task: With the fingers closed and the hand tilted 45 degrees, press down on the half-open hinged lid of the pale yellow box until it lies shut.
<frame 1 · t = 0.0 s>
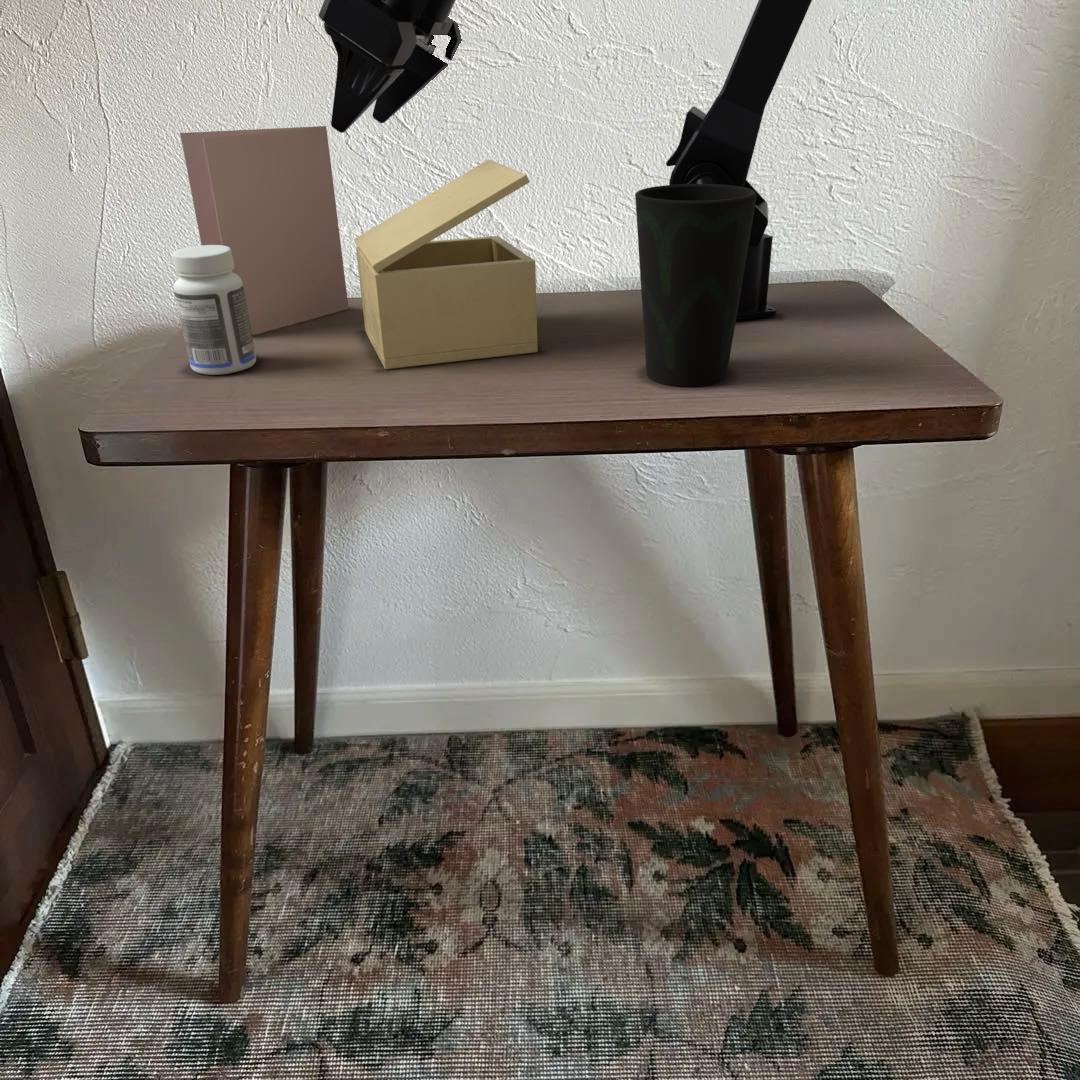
hand: (358, 124, 79), 15 cm above the table, tool tilted 35°, fingers open, 9 cm apart
pill bottle: (224, 368, 70), on the table
pale yellow box: (448, 341, 74), on the table
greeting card: (284, 324, 80), on the table
cup: (686, 376, 65), on the table
lid: (436, 212, 69), point 10 cm above the table, hinge at 25.0°
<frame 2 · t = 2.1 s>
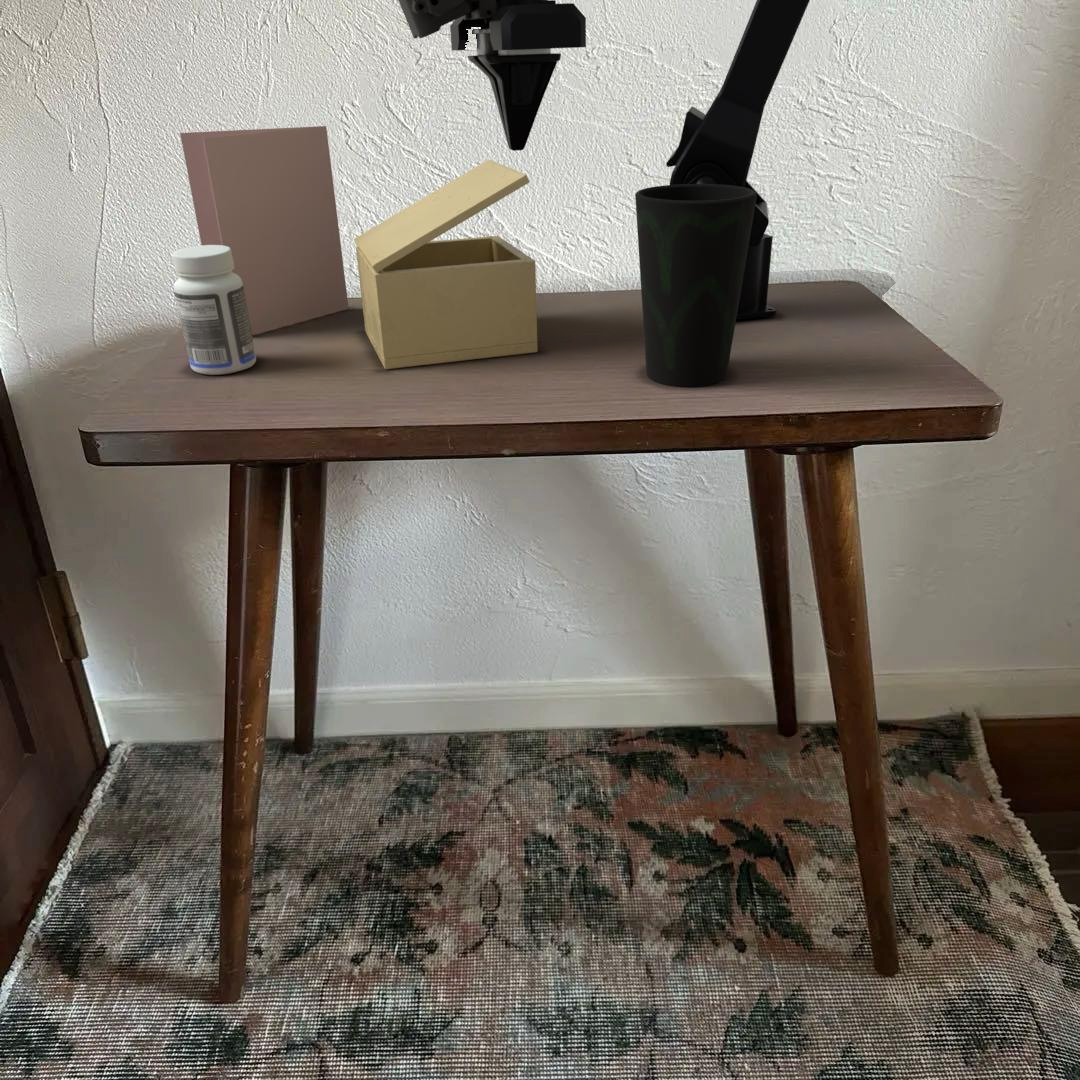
hand: (516, 150, 77), 13 cm above the table, tool pointing down, fingers closed
nothing on the table moved.
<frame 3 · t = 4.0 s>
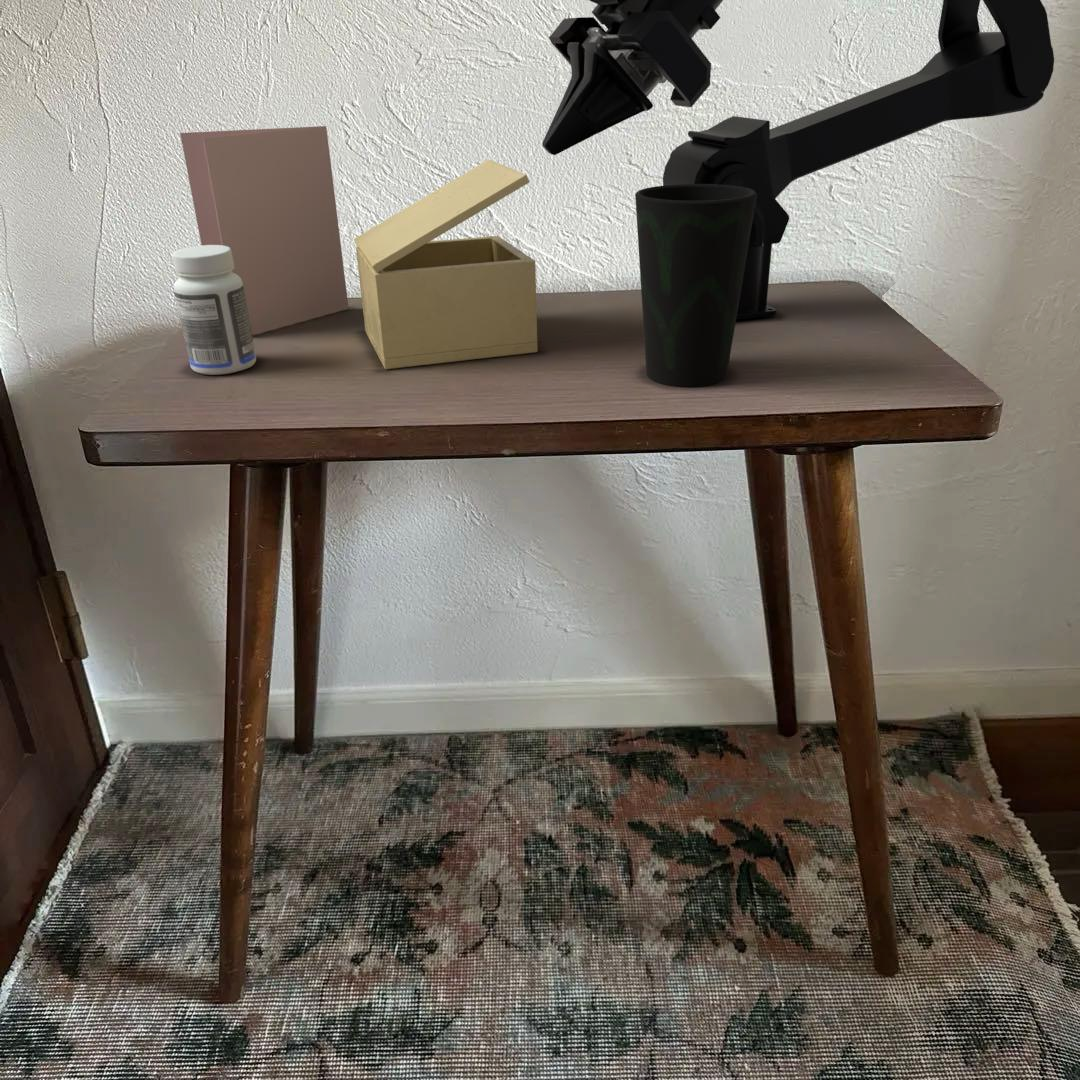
hand: (547, 150, 69), 14 cm above the table, tool tilted 45°, fingers closed
nothing on the table moved.
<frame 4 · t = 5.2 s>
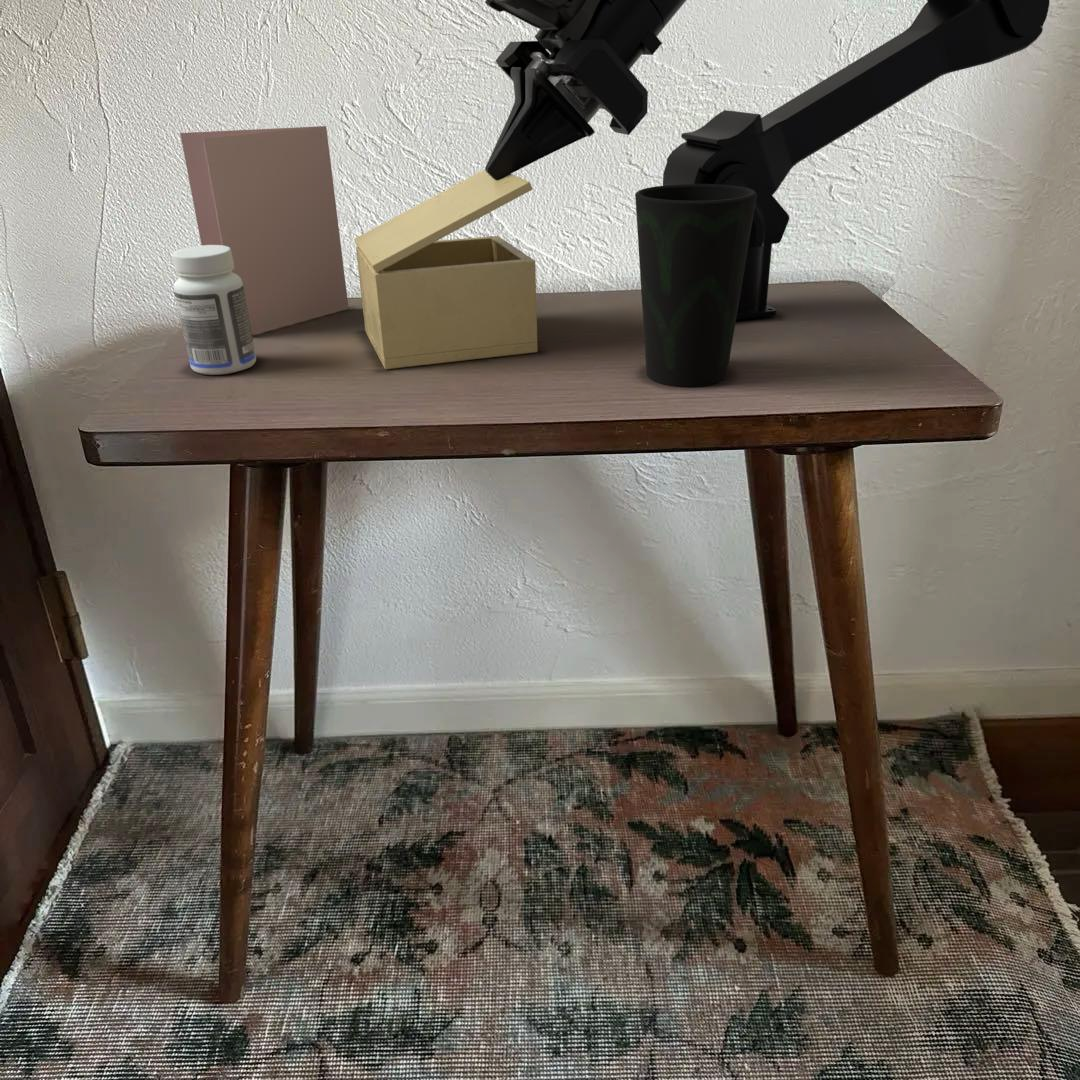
hand: (490, 175, 69), 12 cm above the table, tool tilted 45°, fingers closed, pressing on lid
lid: (437, 215, 69), point 10 cm above the table, hinge at 22.5°, touching gripper
everything else where it was.
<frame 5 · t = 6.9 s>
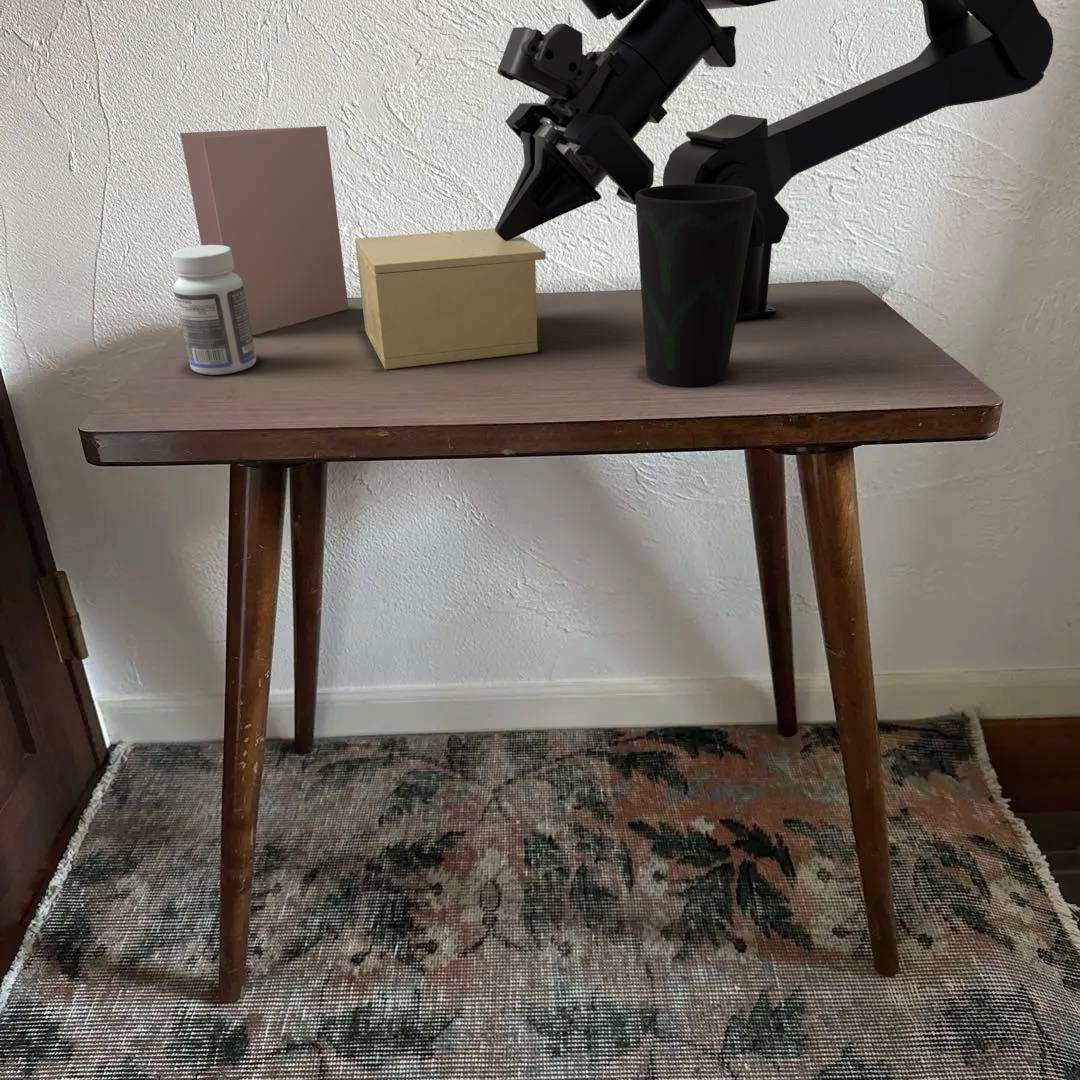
hand: (500, 236, 71), 8 cm above the table, tool tilted 45°, fingers closed, pressing on lid
lid: (446, 248, 70), point 7 cm above the table, hinge at -0.3°, touching gripper, pale yellow box
everything else where it was.
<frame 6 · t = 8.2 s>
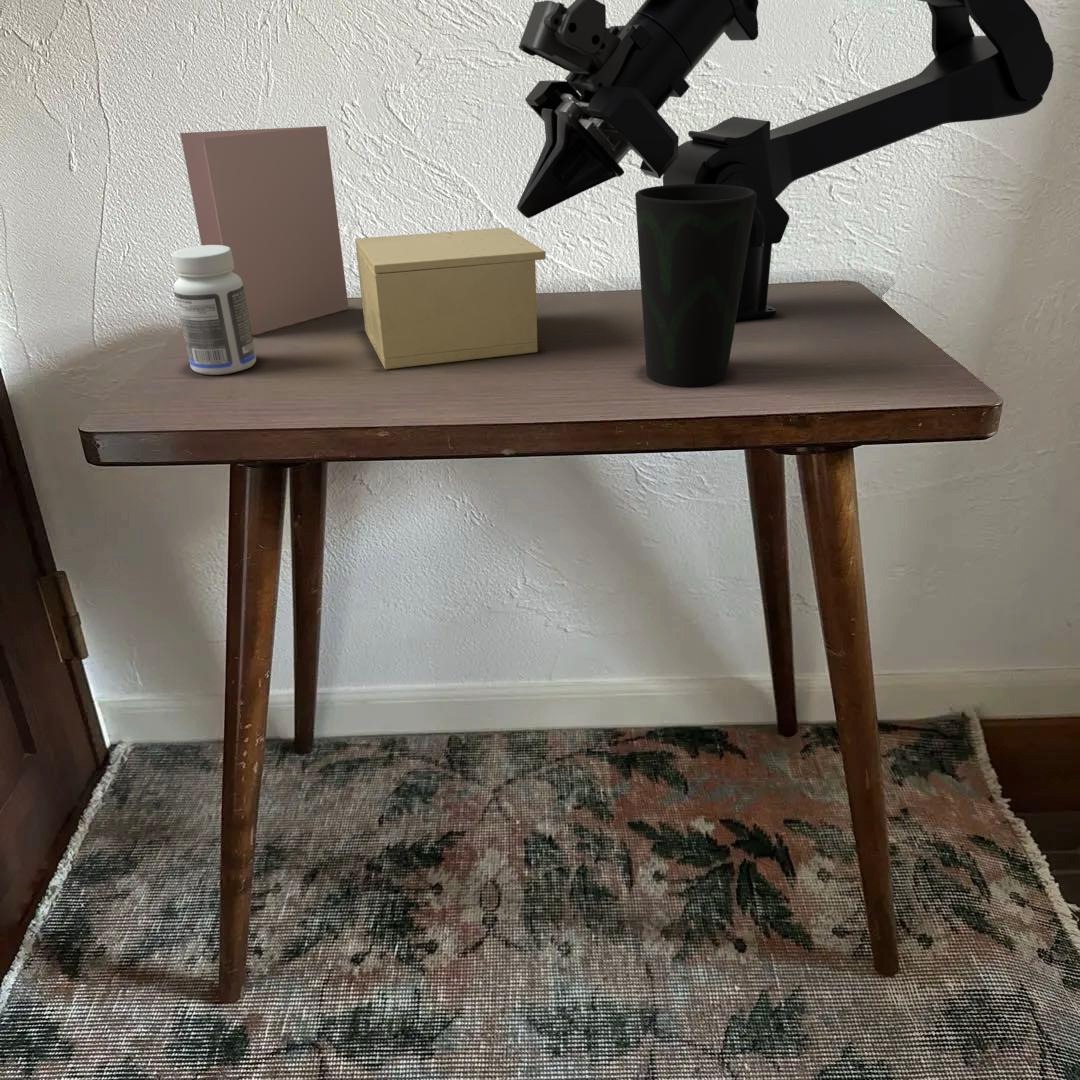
hand: (522, 213, 71), 9 cm above the table, tool tilted 45°, fingers closed
lid: (446, 248, 70), point 7 cm above the table, hinge at -0.3°, touching pale yellow box
everything else where it was.
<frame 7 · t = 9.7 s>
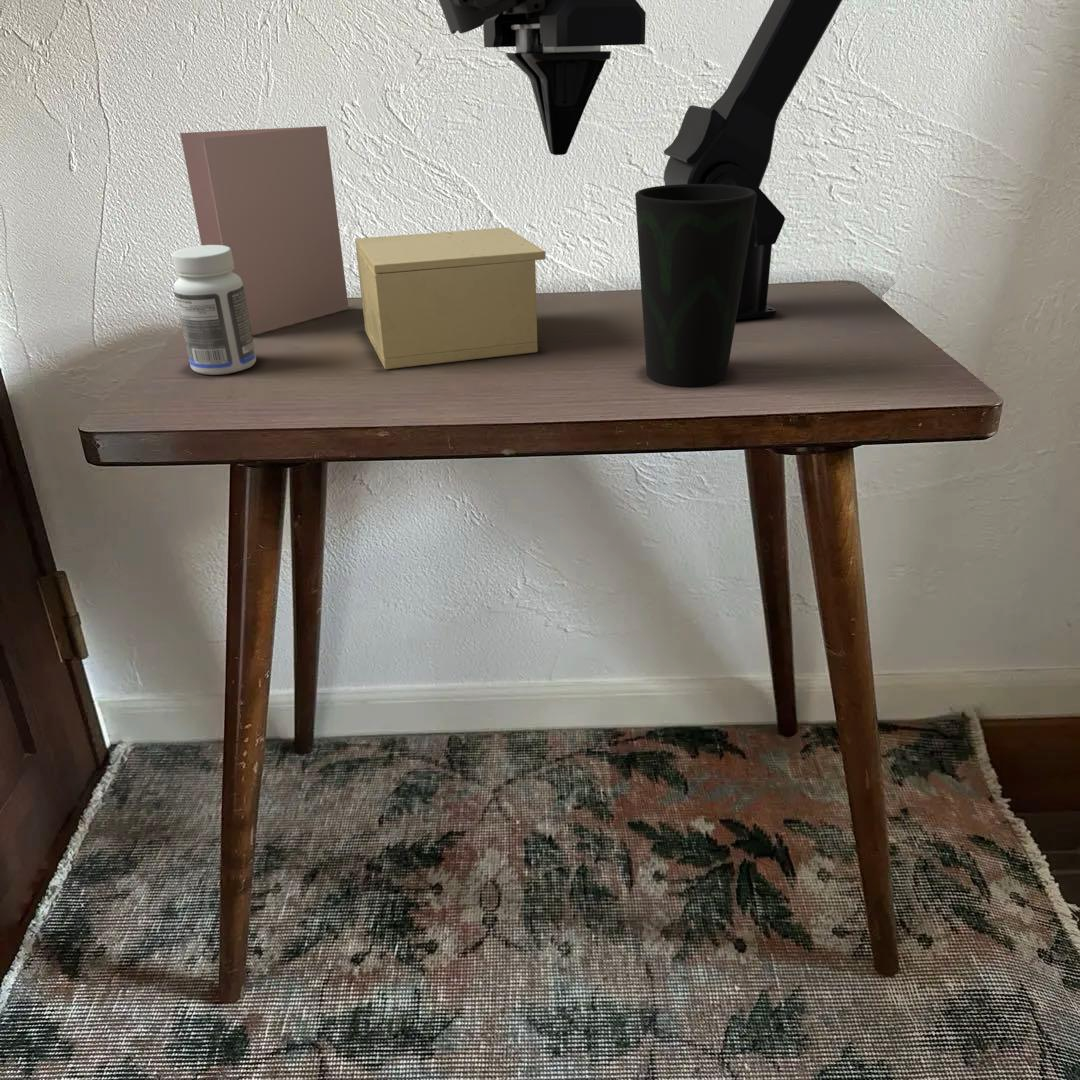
hand: (558, 154, 72), 13 cm above the table, tool pointing down, fingers closed
nothing on the table moved.
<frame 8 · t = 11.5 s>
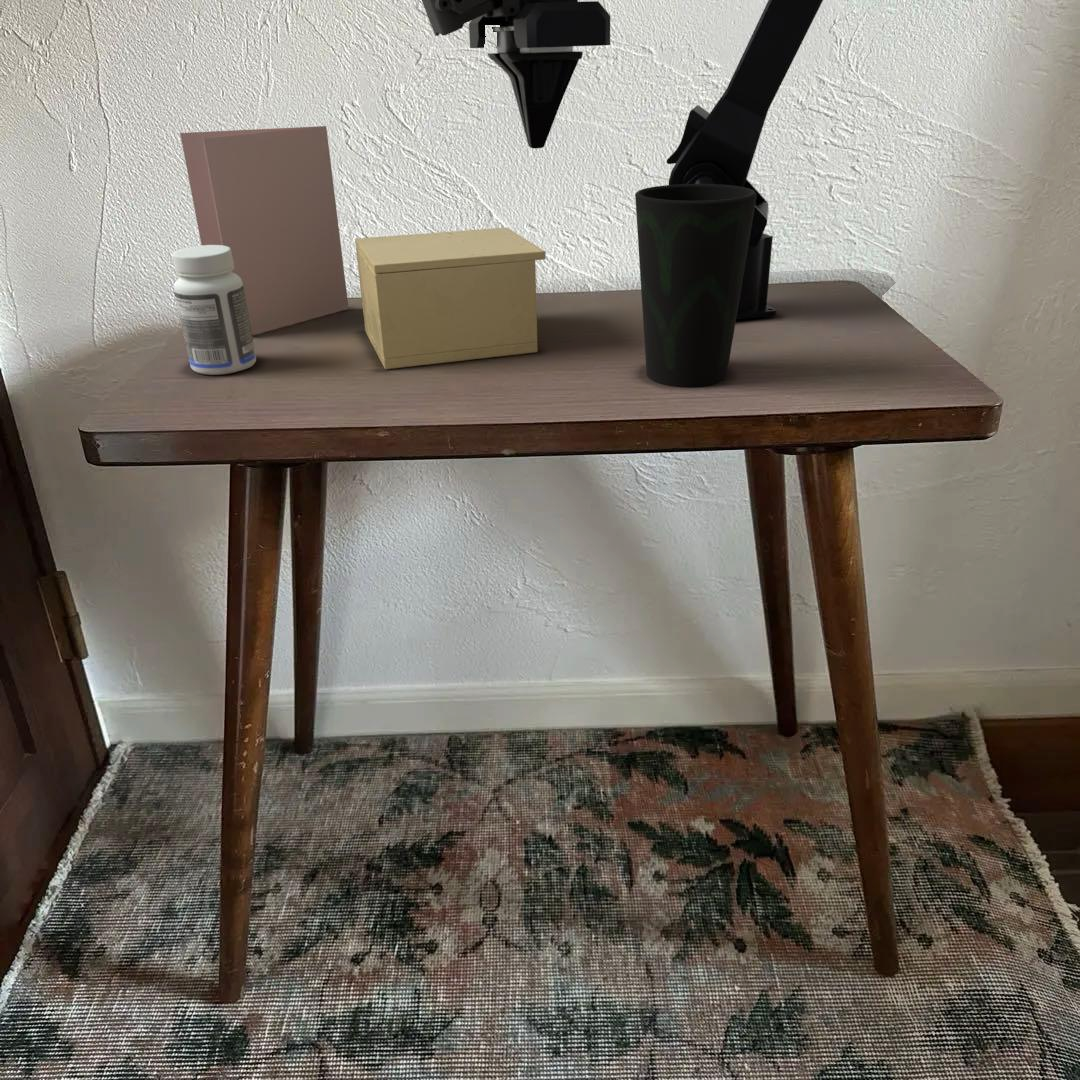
hand: (536, 147, 77), 13 cm above the table, tool pointing down, fingers closed
nothing on the table moved.
at the end: lid at +0° (first picture: +25°) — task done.
